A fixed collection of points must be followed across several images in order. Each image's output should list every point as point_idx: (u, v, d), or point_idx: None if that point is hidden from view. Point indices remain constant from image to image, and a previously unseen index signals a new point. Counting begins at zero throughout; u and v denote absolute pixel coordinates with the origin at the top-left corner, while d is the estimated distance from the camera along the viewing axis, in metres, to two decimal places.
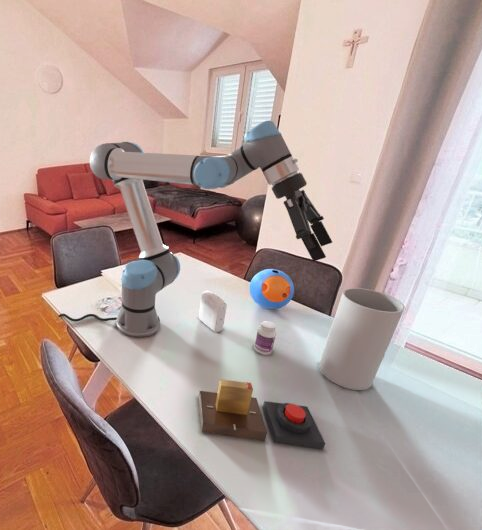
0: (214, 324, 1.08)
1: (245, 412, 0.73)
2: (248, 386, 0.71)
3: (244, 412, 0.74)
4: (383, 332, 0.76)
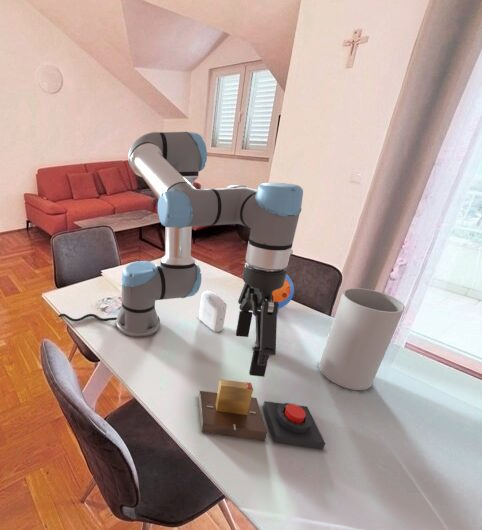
0: (214, 324, 1.08)
1: (245, 412, 0.73)
2: (248, 386, 0.71)
3: (244, 412, 0.74)
4: (383, 332, 0.76)
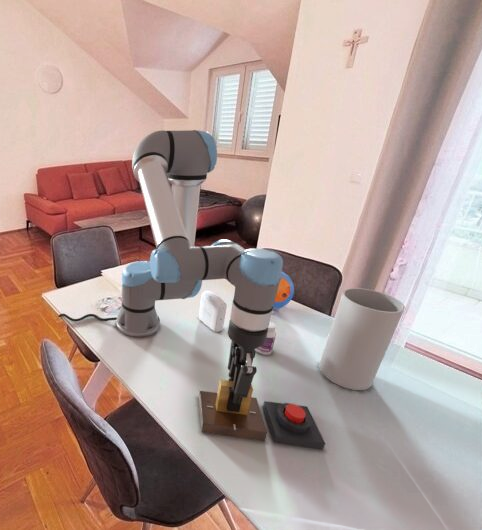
0: (214, 324, 1.08)
1: (245, 412, 0.73)
2: None
3: (244, 412, 0.74)
4: (383, 332, 0.76)
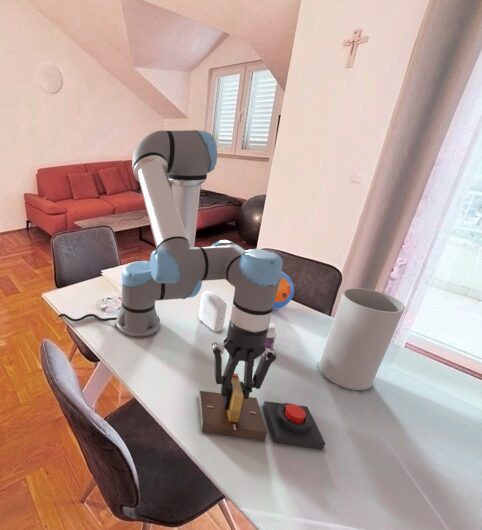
0: (214, 324, 1.08)
1: None
2: (236, 375, 0.74)
3: None
4: (383, 332, 0.76)
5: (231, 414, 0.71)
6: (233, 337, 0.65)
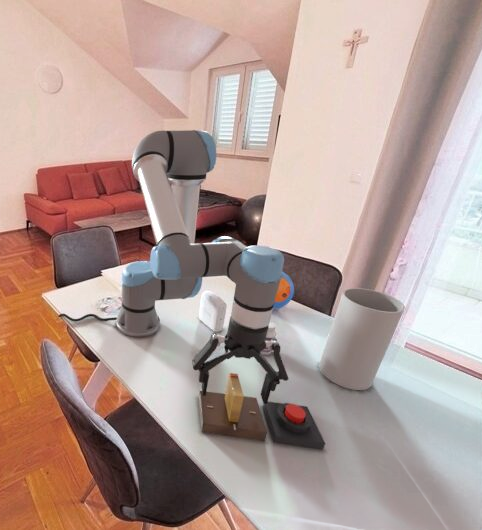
0: (214, 324, 1.08)
1: None
2: (236, 375, 0.74)
3: None
4: (383, 332, 0.76)
5: (231, 414, 0.71)
6: (233, 334, 0.65)
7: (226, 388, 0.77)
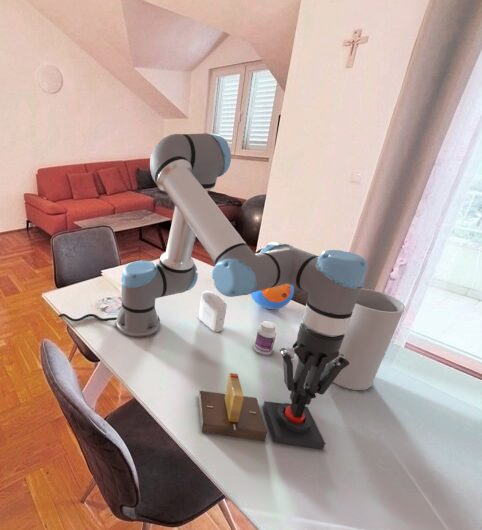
0: (214, 324, 1.08)
1: None
2: (236, 375, 0.74)
3: None
4: (383, 332, 0.76)
5: (231, 414, 0.71)
6: (307, 341, 0.62)
7: (226, 388, 0.77)
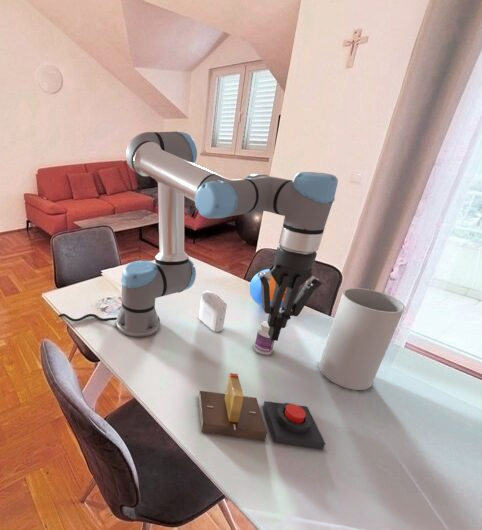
0: (214, 324, 1.08)
1: None
2: (236, 375, 0.74)
3: None
4: (383, 332, 0.76)
5: (231, 414, 0.71)
6: (282, 261, 0.67)
7: (226, 388, 0.77)
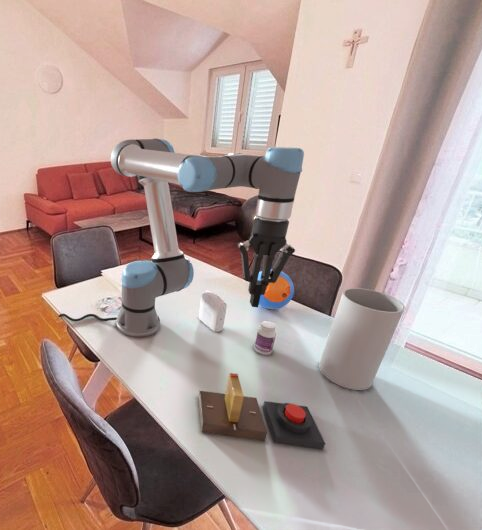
0: (214, 324, 1.08)
1: None
2: (236, 375, 0.74)
3: None
4: (383, 332, 0.76)
5: (231, 414, 0.71)
6: (258, 229, 0.73)
7: (226, 388, 0.77)
